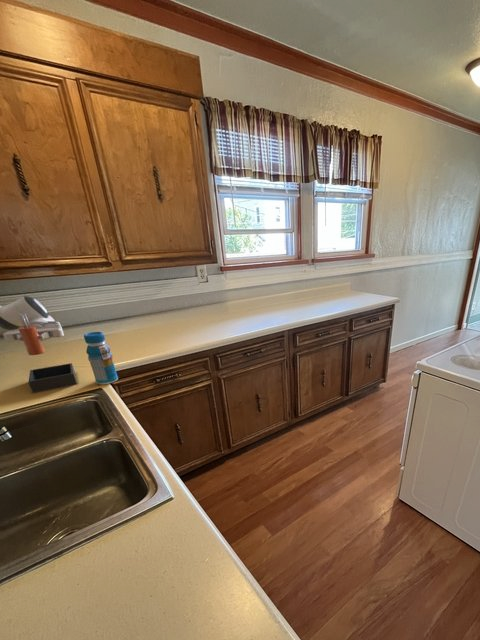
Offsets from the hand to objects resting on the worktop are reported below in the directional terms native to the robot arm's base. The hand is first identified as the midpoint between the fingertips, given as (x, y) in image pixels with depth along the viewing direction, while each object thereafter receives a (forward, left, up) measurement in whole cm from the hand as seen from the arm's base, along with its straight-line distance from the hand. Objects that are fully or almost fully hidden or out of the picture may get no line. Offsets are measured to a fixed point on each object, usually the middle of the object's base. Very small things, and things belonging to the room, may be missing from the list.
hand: (30, 338), depth 133 cm
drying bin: (+4, -11, -17) cm, 20 cm away
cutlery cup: (0, +1, -6) cm, 7 cm away
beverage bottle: (+22, -22, -17) cm, 35 cm away
